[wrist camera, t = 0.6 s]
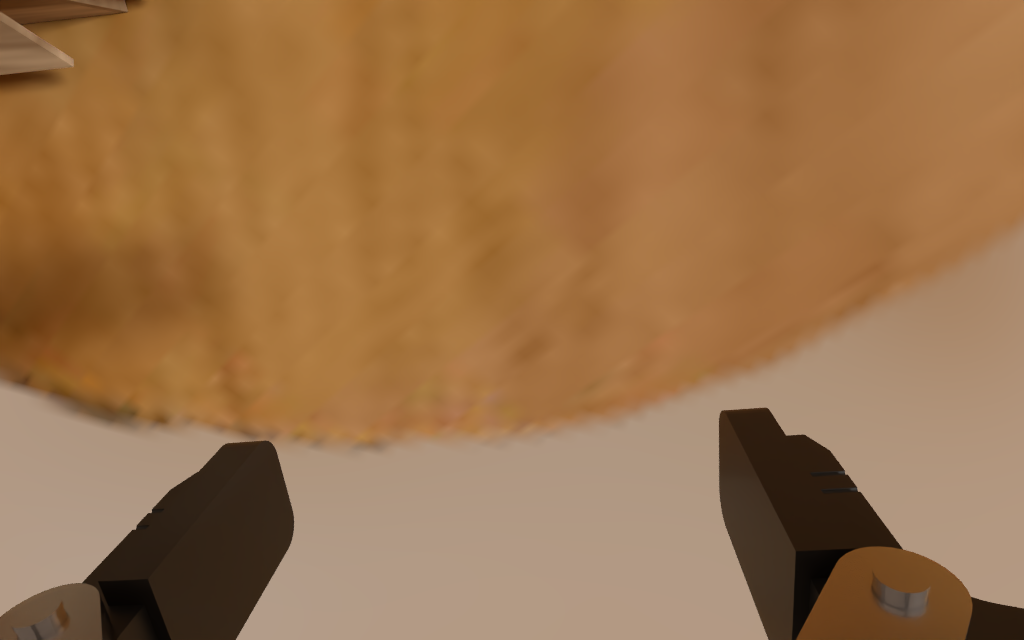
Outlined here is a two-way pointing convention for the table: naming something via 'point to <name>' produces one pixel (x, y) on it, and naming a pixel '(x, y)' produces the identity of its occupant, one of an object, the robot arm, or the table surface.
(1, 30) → the carton
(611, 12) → the table surface
